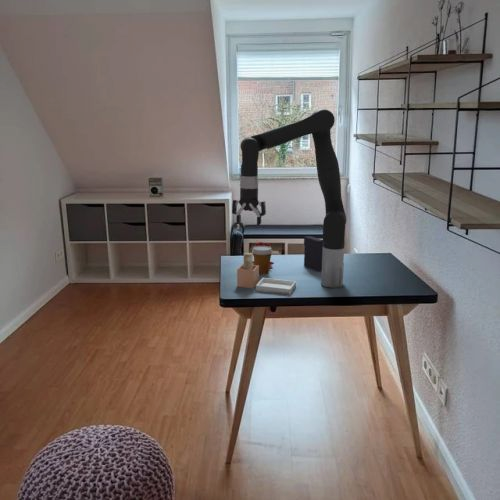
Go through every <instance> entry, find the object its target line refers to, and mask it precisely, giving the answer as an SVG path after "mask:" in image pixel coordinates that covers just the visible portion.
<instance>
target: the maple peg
mask: <svg viewBox="0 0 500 500" xmlns="http://www.w3.org/2000/svg"><path fill="white" fill-rule="evenodd" d="M253 261H254V256H253V252H244V253H243V264H244V269H247V270H253Z"/></svg>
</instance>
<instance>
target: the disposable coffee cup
mask: <svg viewBox="0 0 500 500" xmlns="http://www.w3.org/2000/svg"><path fill="white" fill-rule="evenodd" d="M254 246H255V245H254ZM254 246H253V247H252V251H251V253H252V254H253V261H254V265H257V266H259V275H267V274H269V271H270V269H269V266H270V262H271V257H272V253H273V249H272V247H269V246H255V247H254Z"/></svg>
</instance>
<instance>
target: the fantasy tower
mask: <svg viewBox="0 0 500 500" xmlns="http://www.w3.org/2000/svg"><path fill="white" fill-rule="evenodd" d="M255 246H269V247H271V245H270V244H269V243H267V242H265V244H264V245H263V242H261V241H259V242H258V243H256V244H255V245H254V246H253V247H255ZM271 248H272V247H271ZM274 264H275V262H274V261H270V266H269V270H273V269H274V268H273V266H272V265H274ZM253 265H254V260H253Z"/></svg>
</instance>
